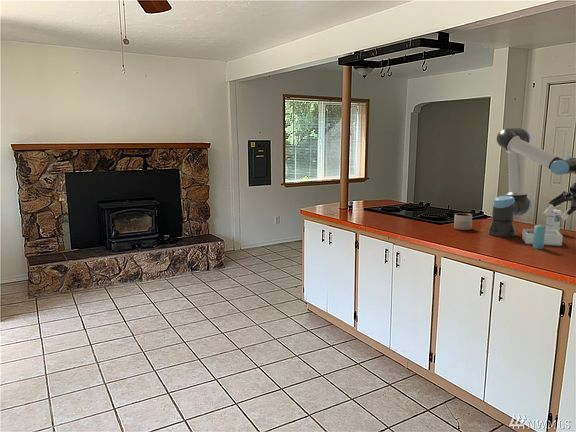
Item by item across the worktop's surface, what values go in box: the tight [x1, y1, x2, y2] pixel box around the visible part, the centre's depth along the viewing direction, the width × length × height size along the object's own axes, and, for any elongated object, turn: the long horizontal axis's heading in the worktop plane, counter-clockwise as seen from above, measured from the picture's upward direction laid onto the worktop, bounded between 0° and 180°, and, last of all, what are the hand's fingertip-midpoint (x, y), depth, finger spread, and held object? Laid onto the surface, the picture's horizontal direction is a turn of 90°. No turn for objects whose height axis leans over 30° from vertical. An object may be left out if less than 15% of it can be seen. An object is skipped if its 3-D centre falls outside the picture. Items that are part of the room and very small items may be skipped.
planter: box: [453, 212, 473, 231], centre depth 285 cm, size 11×11×10 cm
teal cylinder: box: [532, 224, 546, 250], centre depth 233 cm, size 5×5×12 cm
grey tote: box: [521, 228, 564, 247], centre depth 246 cm, size 18×14×6 cm
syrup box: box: [545, 208, 563, 234], centre depth 267 cm, size 6×6×14 cm
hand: (553, 216), depth 233 cm, fingers open, 13 cm apart
